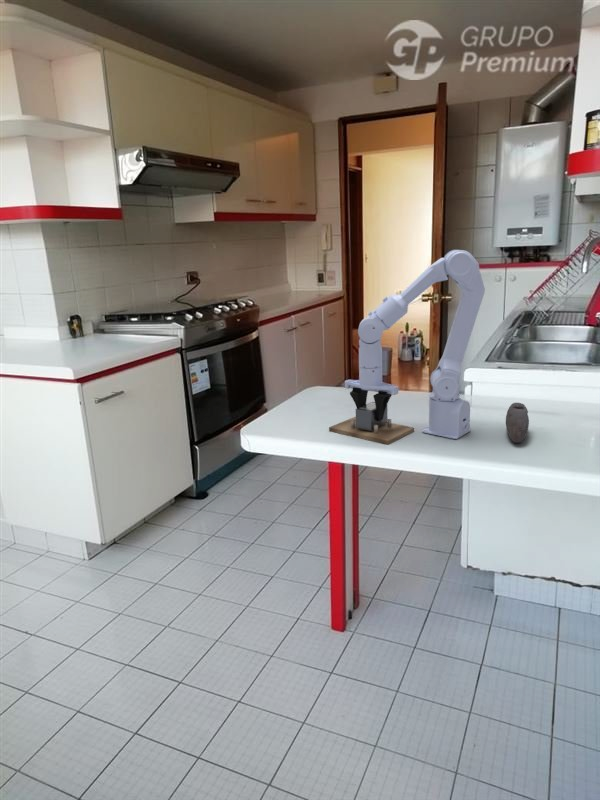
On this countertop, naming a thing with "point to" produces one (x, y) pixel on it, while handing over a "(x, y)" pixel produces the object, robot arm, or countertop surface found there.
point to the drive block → (369, 417)
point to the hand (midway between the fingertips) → (371, 418)
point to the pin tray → (373, 431)
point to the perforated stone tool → (517, 422)
